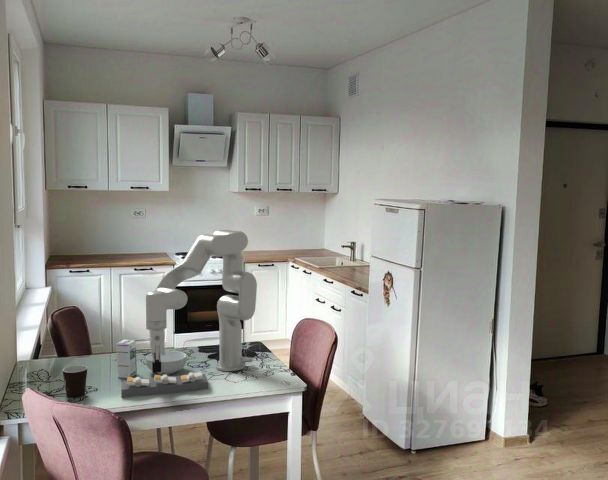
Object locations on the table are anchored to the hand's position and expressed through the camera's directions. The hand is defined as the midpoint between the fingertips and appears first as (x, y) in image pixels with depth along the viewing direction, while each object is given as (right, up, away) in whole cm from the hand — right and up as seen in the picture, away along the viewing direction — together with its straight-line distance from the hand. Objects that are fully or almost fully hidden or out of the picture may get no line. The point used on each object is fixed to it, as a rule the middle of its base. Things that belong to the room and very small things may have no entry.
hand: (156, 371), depth 216 cm
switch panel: (+2, -8, +4) cm, 9 cm away
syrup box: (-17, -6, +18) cm, 26 cm away
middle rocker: (+3, -4, +1) cm, 5 cm away
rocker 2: (+13, -4, +4) cm, 14 cm away
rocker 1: (-7, -5, -2) cm, 8 cm away
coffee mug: (-29, -8, -2) cm, 31 cm away
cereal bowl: (-2, -6, +24) cm, 25 cm away
